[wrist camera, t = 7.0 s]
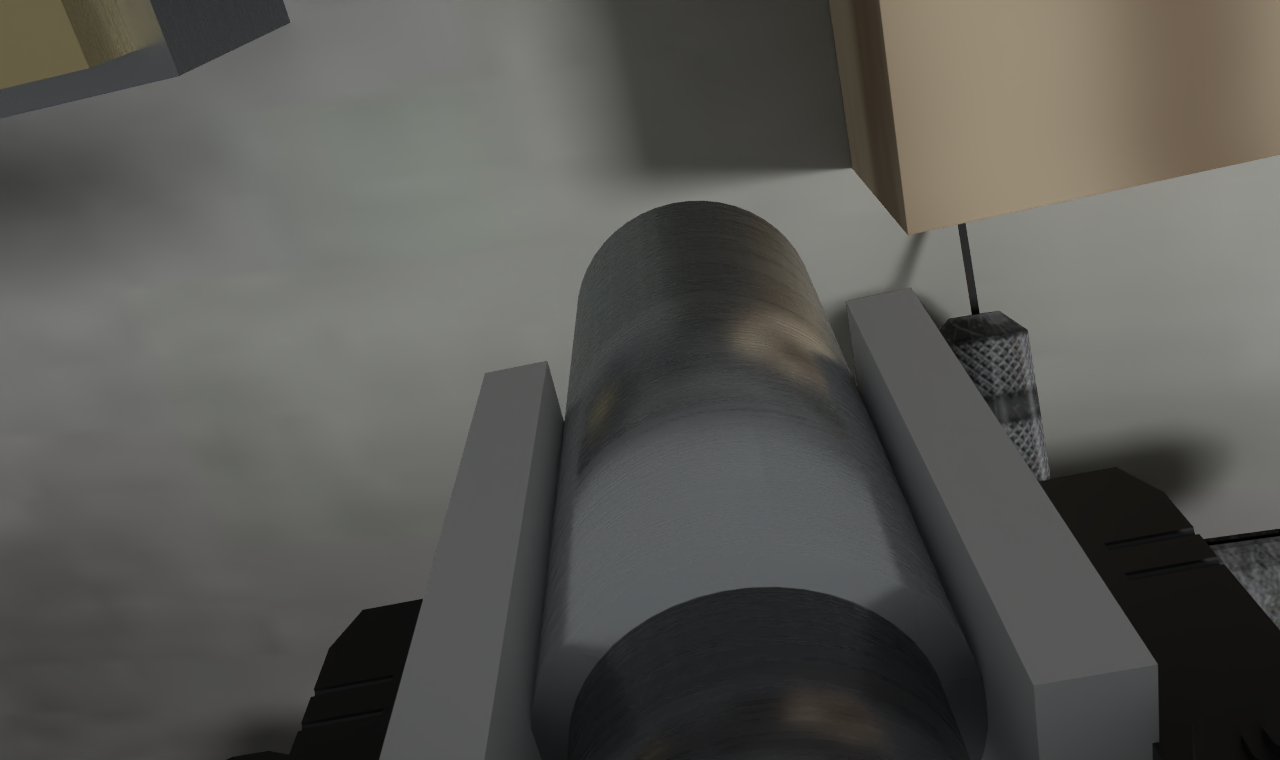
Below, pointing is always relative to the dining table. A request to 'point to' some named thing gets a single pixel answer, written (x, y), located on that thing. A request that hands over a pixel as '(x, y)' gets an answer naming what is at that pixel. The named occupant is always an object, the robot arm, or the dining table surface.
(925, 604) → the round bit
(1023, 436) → the tool
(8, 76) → the square bit
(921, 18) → the bore block
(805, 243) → the dining table surface
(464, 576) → the robot arm
